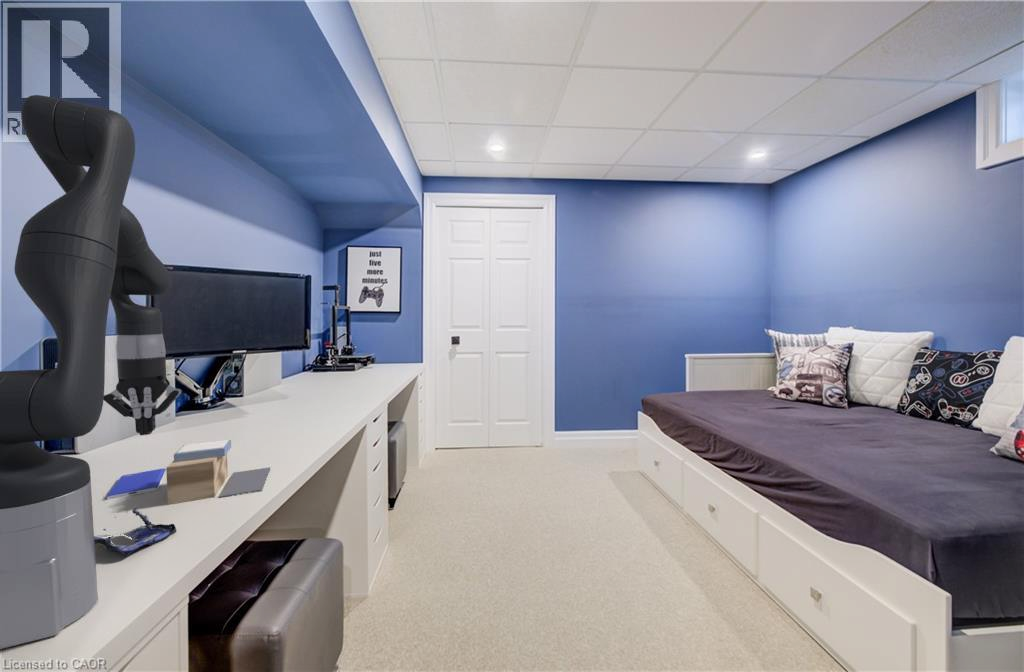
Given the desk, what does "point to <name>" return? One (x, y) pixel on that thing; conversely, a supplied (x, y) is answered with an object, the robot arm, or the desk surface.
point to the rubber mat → (245, 482)
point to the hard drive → (137, 483)
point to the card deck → (202, 451)
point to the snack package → (138, 535)
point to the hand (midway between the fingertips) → (146, 433)
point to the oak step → (195, 479)
